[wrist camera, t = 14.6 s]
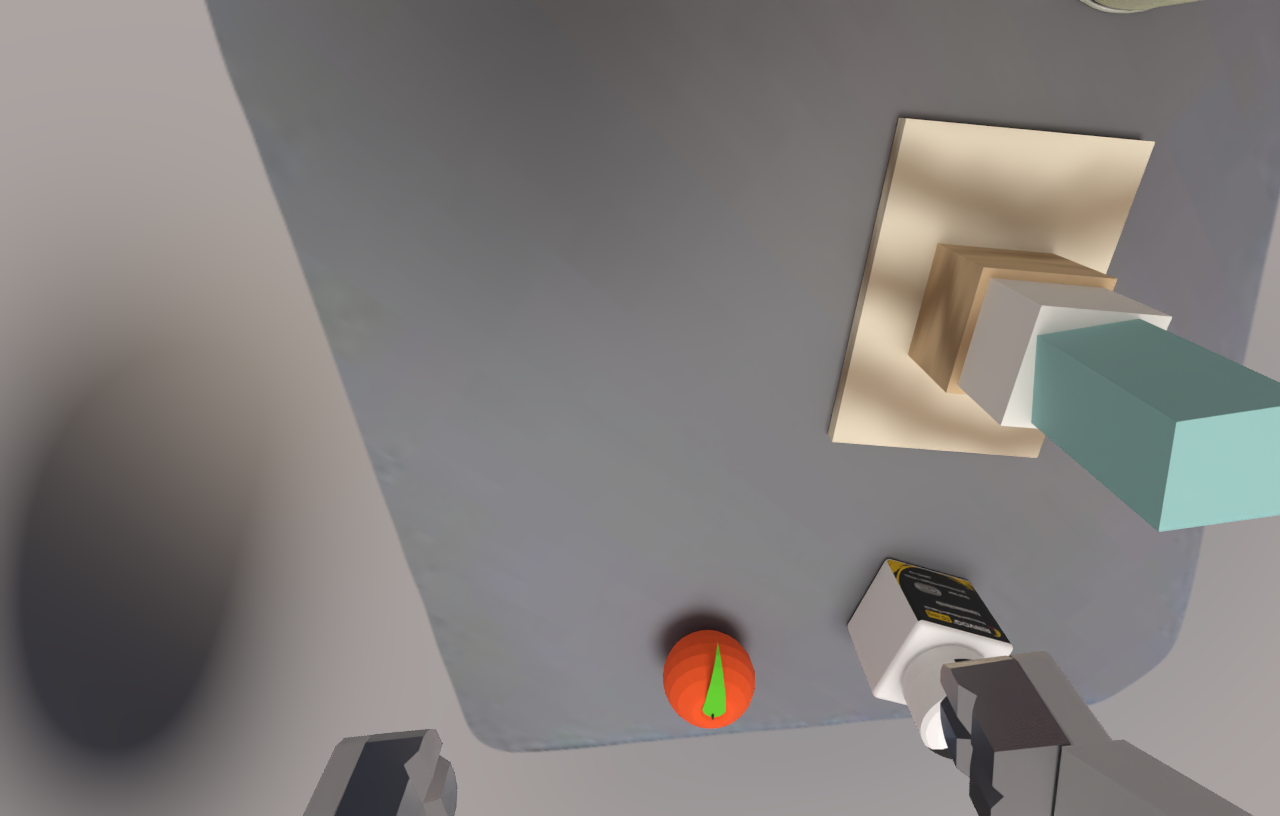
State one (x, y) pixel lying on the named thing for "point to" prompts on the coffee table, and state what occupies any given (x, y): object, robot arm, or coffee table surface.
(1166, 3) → the coffee can
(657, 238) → the coffee table surface
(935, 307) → the oak block
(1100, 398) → the teal block
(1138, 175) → the birch board
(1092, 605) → the coffee table surface
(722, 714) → the clementine
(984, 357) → the white block
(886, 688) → the medicine bottle
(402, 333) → the coffee table surface
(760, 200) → the coffee table surface
